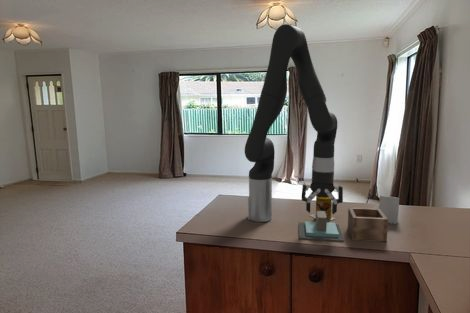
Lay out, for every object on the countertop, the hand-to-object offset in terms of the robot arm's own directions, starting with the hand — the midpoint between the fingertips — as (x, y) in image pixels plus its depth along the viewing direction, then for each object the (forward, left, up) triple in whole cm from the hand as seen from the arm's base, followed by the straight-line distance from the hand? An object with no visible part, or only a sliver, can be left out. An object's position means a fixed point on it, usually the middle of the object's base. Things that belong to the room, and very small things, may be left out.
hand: (321, 212), depth 118 cm
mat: (0, 0, -7) cm, 7 cm away
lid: (0, 0, -7) cm, 7 cm away
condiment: (+2, +16, -8) cm, 18 cm away
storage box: (+16, 0, -7) cm, 17 cm away
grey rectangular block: (+27, +15, -8) cm, 31 cm away
